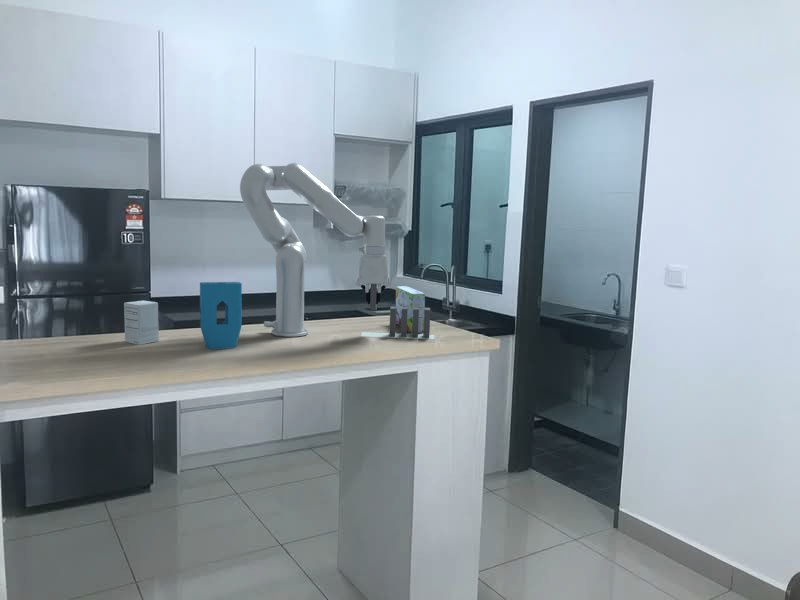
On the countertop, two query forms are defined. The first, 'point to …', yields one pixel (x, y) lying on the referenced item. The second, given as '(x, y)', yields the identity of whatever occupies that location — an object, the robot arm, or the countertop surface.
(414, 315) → the domino
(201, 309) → the block
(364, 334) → the mat
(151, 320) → the supplement box
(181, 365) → the countertop surface
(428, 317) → the domino
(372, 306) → the domino
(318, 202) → the robot arm
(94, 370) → the countertop surface
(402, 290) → the snack box
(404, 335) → the domino
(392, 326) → the domino
